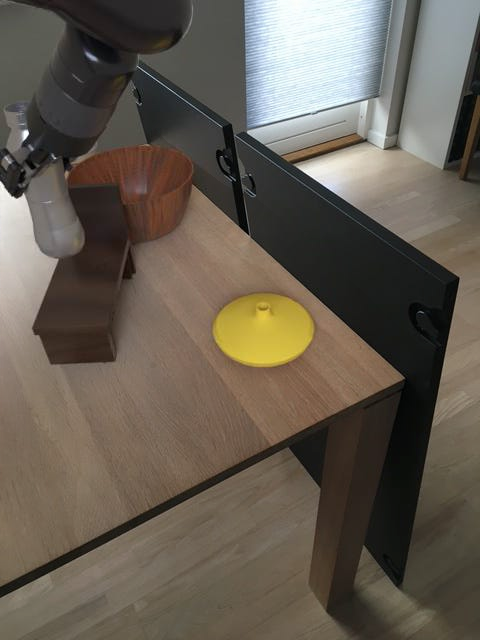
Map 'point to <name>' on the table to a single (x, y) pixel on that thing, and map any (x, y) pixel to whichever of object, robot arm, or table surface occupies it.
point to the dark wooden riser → (87, 281)
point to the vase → (263, 330)
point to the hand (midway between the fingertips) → (34, 180)
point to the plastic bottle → (46, 196)
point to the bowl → (142, 185)
